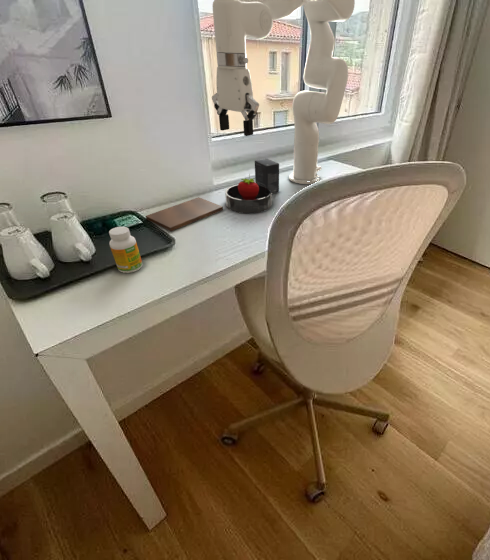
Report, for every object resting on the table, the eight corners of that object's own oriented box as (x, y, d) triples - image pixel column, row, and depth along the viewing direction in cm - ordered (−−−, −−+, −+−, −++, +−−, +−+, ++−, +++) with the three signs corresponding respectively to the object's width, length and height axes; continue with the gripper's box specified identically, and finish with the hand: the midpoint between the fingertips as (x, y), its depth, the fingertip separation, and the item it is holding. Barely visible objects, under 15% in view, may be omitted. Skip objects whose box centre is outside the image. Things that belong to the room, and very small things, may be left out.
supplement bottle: (134, 275, 73) (122, 237, 68) (113, 271, 74) (99, 234, 68) (147, 262, 78) (137, 226, 72) (127, 259, 79) (115, 223, 73)
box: (279, 192, 119) (279, 163, 113) (266, 195, 116) (266, 165, 110) (267, 185, 124) (266, 157, 118) (255, 188, 121) (254, 160, 115)
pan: (248, 192, 117) (247, 180, 115) (280, 203, 110) (280, 191, 108) (216, 205, 107) (215, 192, 105) (250, 218, 100) (249, 204, 98)
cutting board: (199, 200, 110) (198, 197, 109) (223, 210, 104) (223, 206, 104) (146, 219, 96) (145, 215, 96) (170, 231, 91) (170, 227, 90)
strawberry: (245, 198, 112) (243, 169, 106) (263, 203, 110) (262, 173, 104) (234, 203, 108) (232, 174, 102) (253, 208, 105) (252, 178, 99)
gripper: (266, 63, 82) (267, 135, 92) (219, 59, 89) (225, 126, 100) (245, 63, 77) (249, 139, 87) (198, 59, 84) (206, 129, 95)
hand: (236, 132), depth 93 cm, fingers open, 9 cm apart
